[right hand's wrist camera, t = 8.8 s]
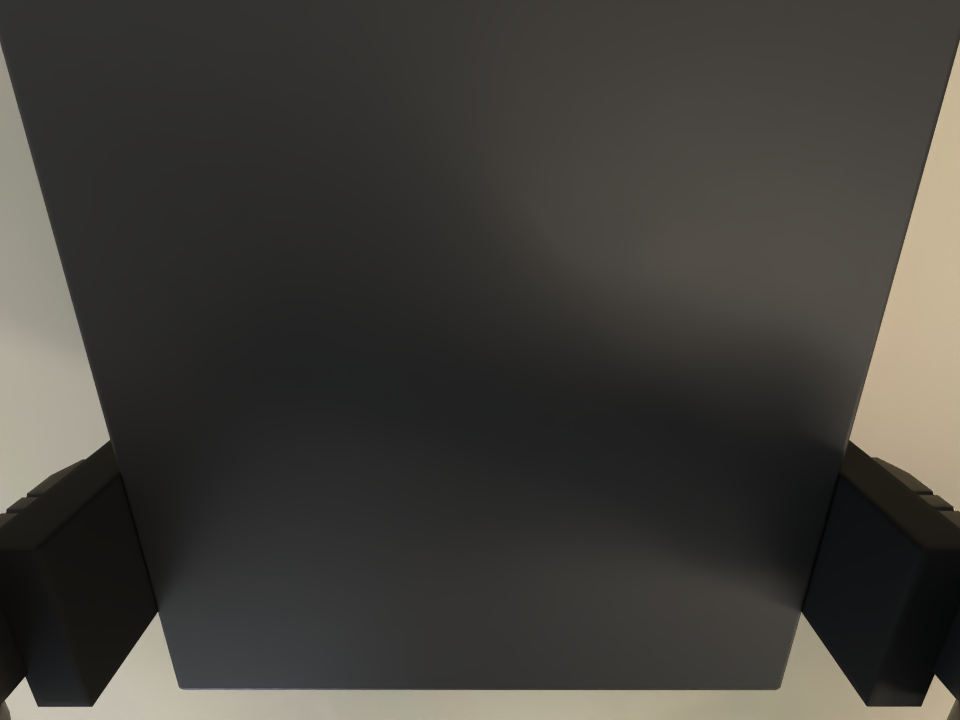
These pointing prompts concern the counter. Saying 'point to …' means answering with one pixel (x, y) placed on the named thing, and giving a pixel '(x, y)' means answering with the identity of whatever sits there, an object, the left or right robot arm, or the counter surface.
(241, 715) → the counter surface
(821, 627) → the right robot arm
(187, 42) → the cabinet
